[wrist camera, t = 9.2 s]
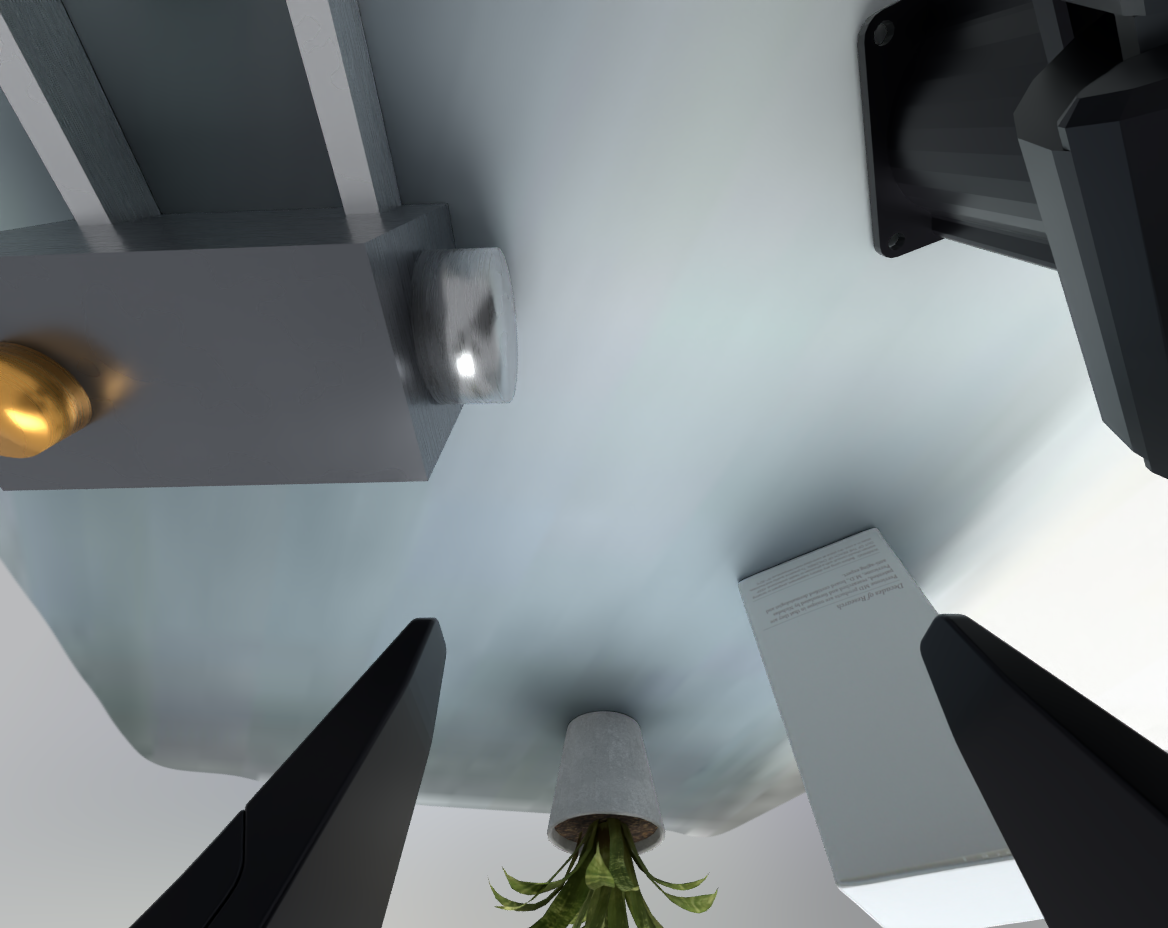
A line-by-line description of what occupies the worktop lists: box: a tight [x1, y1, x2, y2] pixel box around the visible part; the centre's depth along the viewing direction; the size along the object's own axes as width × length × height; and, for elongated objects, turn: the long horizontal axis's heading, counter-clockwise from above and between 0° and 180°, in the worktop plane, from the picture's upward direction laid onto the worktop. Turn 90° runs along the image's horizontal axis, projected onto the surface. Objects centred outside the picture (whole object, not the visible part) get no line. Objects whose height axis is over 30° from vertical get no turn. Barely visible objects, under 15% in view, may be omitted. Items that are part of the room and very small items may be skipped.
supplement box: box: [738, 528, 1044, 928], centre depth 21 cm, size 7×7×13 cm
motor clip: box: [0, 0, 518, 491], centre depth 11 cm, size 14×18×8 cm
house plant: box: [490, 711, 717, 928], centre depth 27 cm, size 14×14×16 cm
